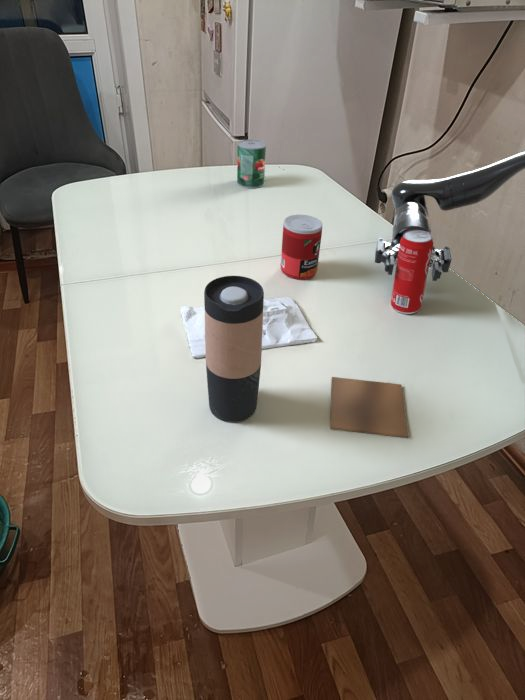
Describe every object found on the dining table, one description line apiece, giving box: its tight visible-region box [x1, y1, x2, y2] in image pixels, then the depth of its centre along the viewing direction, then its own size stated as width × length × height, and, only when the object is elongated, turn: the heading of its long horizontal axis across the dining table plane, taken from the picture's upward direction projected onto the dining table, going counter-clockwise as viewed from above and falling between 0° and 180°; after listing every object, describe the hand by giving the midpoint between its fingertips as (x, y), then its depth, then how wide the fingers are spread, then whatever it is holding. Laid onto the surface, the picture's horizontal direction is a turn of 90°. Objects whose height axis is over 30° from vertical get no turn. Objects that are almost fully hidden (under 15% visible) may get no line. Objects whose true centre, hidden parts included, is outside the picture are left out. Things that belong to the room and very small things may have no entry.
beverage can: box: [390, 230, 434, 315], centre depth 94 cm, size 6×6×15 cm
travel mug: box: [203, 275, 265, 423], centre depth 70 cm, size 8×8×20 cm
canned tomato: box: [236, 139, 267, 189], centre depth 143 cm, size 8×8×11 cm
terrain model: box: [179, 296, 318, 359], centre depth 90 cm, size 17×23×5 cm
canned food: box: [280, 214, 323, 280], centre depth 105 cm, size 8×8×11 cm
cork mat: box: [330, 376, 410, 439], centre depth 77 cm, size 11×11×1 cm
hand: (413, 273), depth 92 cm, fingers open, 7 cm apart
